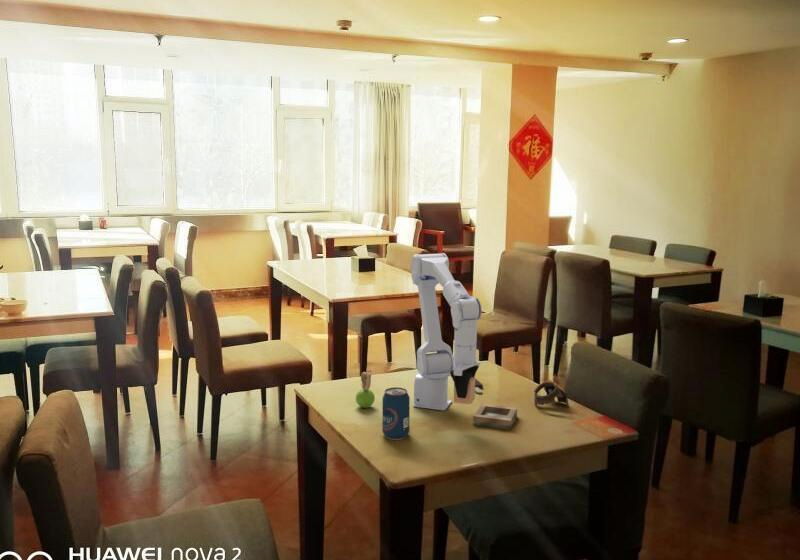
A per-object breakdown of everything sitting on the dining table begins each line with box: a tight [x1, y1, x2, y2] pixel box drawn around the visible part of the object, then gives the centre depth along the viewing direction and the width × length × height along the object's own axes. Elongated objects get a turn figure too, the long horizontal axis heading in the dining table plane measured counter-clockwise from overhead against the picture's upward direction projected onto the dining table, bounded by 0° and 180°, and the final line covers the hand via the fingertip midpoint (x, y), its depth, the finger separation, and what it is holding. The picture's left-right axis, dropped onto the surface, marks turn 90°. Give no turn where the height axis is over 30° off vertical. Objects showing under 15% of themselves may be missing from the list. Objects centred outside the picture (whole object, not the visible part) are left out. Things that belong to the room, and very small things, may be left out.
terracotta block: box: [453, 376, 476, 406], centre depth 176 cm, size 4×4×6 cm
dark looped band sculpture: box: [533, 380, 570, 409], centre depth 196 cm, size 12×10×8 cm
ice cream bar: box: [475, 377, 484, 394], centre depth 212 cm, size 5×2×15 cm
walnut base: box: [472, 403, 518, 431], centre depth 183 cm, size 10×10×2 cm
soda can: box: [381, 386, 411, 441], centre depth 172 cm, size 7×7×12 cm
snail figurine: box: [355, 369, 376, 409], centre depth 192 cm, size 5×6×12 cm
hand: (464, 394), depth 176 cm, fingers closed on terracotta block, 4 cm apart
